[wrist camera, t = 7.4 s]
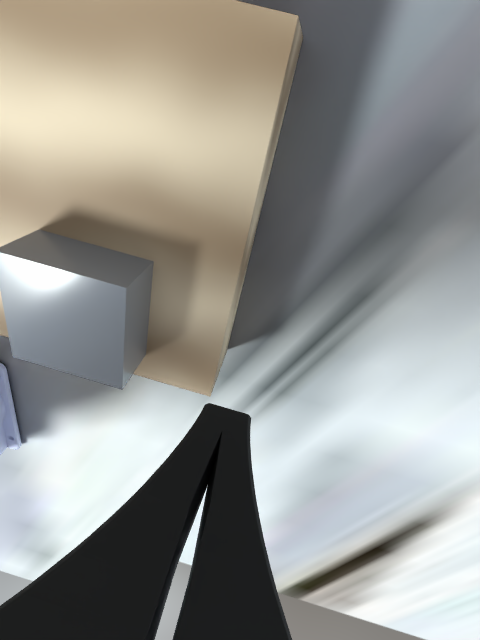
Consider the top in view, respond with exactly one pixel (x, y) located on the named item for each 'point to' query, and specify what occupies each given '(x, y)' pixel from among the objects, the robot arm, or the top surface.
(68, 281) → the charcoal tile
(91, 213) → the oak bench
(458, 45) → the top surface
